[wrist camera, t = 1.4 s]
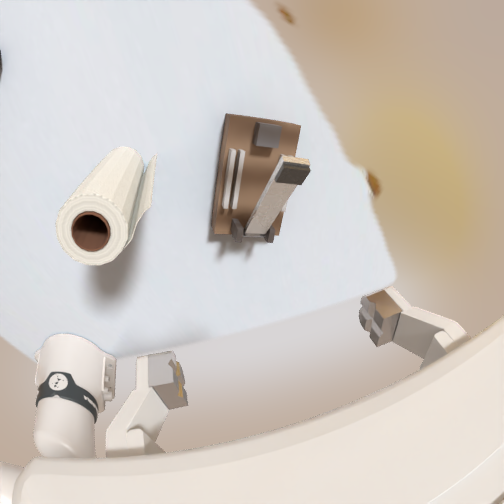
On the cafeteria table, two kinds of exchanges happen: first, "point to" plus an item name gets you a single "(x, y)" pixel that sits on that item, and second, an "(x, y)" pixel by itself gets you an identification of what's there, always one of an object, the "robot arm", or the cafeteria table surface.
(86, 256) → the paper towel roll
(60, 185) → the cafeteria table surface
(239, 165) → the wooden base lever press
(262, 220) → the beige-grey bar
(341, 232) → the cafeteria table surface
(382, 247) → the cafeteria table surface
